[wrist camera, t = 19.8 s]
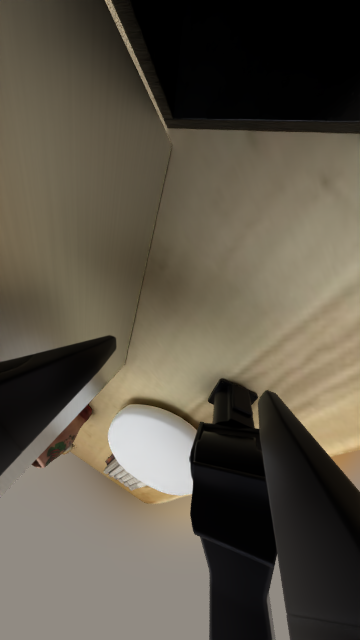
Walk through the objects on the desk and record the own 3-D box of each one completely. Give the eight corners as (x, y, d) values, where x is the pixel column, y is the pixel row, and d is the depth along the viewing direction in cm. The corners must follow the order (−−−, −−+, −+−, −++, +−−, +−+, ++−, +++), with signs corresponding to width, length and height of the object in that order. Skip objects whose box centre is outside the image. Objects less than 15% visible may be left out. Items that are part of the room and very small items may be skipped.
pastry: (70, 449, 68) (62, 458, 65) (59, 440, 68) (50, 450, 65) (74, 445, 64) (66, 455, 61) (63, 436, 64) (54, 446, 60)
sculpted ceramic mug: (68, 375, 39) (-3, 428, 27) (103, 399, 39) (48, 464, 27) (63, 405, 49) (9, 454, 37) (91, 425, 49) (46, 480, 37)
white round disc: (102, 400, 29) (231, 453, 24) (121, 379, 35) (227, 419, 31) (99, 478, 37) (194, 528, 33) (115, 451, 43) (197, 490, 39)
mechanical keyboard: (141, 486, 60) (136, 498, 57) (105, 460, 60) (99, 471, 57) (183, 467, 42) (180, 483, 39) (131, 430, 42) (124, 443, 39)
